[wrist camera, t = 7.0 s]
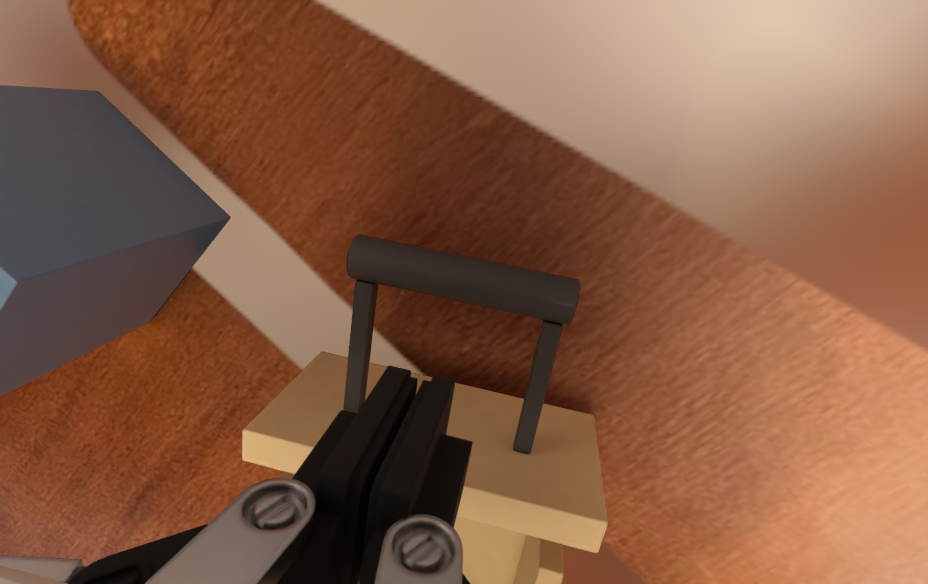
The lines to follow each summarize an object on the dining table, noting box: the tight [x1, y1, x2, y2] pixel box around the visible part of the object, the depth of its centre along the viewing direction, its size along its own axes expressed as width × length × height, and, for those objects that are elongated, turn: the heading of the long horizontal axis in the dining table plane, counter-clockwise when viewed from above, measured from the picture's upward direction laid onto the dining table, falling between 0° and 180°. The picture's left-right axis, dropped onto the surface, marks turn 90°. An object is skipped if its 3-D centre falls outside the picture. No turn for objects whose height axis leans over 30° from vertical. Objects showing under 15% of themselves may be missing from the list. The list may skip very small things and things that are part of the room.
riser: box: [0, 85, 230, 396], centre depth 18 cm, size 7×7×9 cm
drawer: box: [242, 234, 608, 584], centre depth 19 cm, size 20×11×6 cm, turn 170°
